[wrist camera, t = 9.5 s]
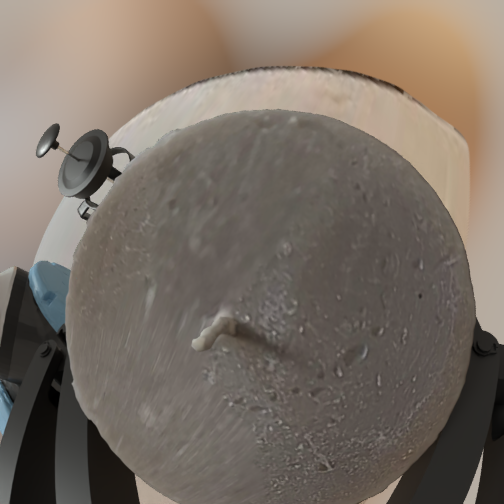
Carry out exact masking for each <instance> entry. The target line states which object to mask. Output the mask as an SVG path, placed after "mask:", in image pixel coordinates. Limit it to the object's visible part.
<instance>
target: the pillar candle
mask: <svg viewBox="0 0 504 504" xmlns="http://www.w3.org/2000/svg"><path fill="white" fill-rule="evenodd" d="M86 223H87V229H86V231H85V233H84V235H83V237H82V239H81V240H80V242H79V243H78V245H77V248H76V250H75V252H74V255H73V264H72V268H71V272H70V278H69V291H68V294H67V296H66V308H65V317H66V318H65V326H66V341H67V349H68V353H69V358H70V368H71V371H72V375H73V379H74V380H73V383H71V384H72V385H73V388H74V390H75V395H76V398H77V400H78V402H79V404H80V407H81V409H82V410H83V412H84V413H85V415H86V416H87V418H88V419H89V420H92V421H93V423H94V424H95V425H96V427H97V428H98V430H99V432H100V435H101V437H102V438H103V439H104V440H105V441H106V442H107V443H108V445H109V447H110V449H111V450H112V451H113V452H114V453H115V454H116V455H117V456H118V457H119V458H120V459H121V460H122V462H123V463H124V464H125V465H126V466H127V467H128V468H129V469H130V470H131V471H132V472H133V473H135V474H136V475H137V476H138V477H140V478H141V479H142V480H143V481H144V482H145V483H146V484H148V485H149V486H150V487H152V488H153V489H155V490H156V491H158V492H159V493H161V494H162V495H164V496H166V497H168V498H169V499H171V500H173V501H175V502H177V503H179V504H358V503H360V502H362V501H364V500H366V499H368V498H370V497H373V496H375V495H377V494H379V493H381V492H383V491H384V490H385V489H386V488H387V487H388V485H389V484H391V483H392V482H394V481H395V480H396V479H398V478H399V477H400V476H402V475H403V474H404V473H405V472H406V471H407V470H408V469H409V468H410V467H411V465H412V464H413V463H414V462H416V461H417V460H418V459H419V457H420V456H421V455H422V454H423V453H424V452H425V451H426V450H427V449H428V448H429V447H430V446H431V445H432V444H433V443H434V441H435V440H436V439H437V437H438V434H439V433H440V431H442V429H443V428H444V426H445V425H446V423H447V421H448V419H449V416H450V414H451V413H452V411H453V408H454V406H455V404H456V402H457V400H458V398H459V397H460V393H461V390H462V388H463V386H464V384H465V381H466V374H467V371H468V367H469V363H470V357H471V348H472V344H473V337H474V328H475V324H476V308H475V307H476V306H475V299H474V292H473V286H472V283H471V278H470V269H469V263H468V259H467V255H466V250H465V248H464V244H463V241H462V239H461V236H460V234H459V232H458V229H457V227H456V225H455V223H454V222H453V220H452V218H451V216H450V214H449V212H448V210H447V209H446V208H445V206H444V205H443V203H442V201H441V200H440V198H439V197H438V195H437V193H436V192H435V191H434V189H433V188H432V187H431V186H430V185H429V183H428V182H427V181H426V180H425V179H424V178H423V177H422V176H421V175H420V173H419V172H418V171H417V170H416V169H415V168H414V167H413V166H412V165H411V164H410V162H409V161H407V160H406V159H404V158H403V157H402V156H401V155H399V154H398V153H397V152H396V151H395V150H393V149H391V148H390V147H389V146H387V145H386V144H384V143H383V142H381V141H380V140H378V139H376V138H375V137H373V136H371V135H369V134H367V133H365V132H364V131H362V130H359V129H357V128H355V127H353V126H350V125H348V124H346V123H344V122H342V121H340V120H336V119H334V118H330V117H327V116H324V115H319V114H312V113H305V112H297V111H288V110H281V109H276V110H268V109H266V110H253V111H240V112H233V113H229V114H223V115H220V116H217V117H214V118H212V119H209V120H205V121H201V122H199V123H197V124H195V125H191V126H188V127H186V128H183V129H176V130H174V131H170V132H169V133H167V134H165V135H164V136H163V137H162V138H161V139H159V140H158V141H157V143H156V144H155V145H154V146H153V147H150V148H147V149H146V150H144V151H143V152H141V153H139V154H138V155H137V156H136V157H135V158H134V159H133V160H131V161H130V162H129V164H127V166H126V167H125V169H124V171H123V173H122V174H121V175H120V176H118V177H117V178H115V181H114V184H113V186H112V188H111V189H110V190H109V192H108V194H107V195H106V197H105V198H104V200H103V201H102V202H101V203H100V205H99V206H98V207H97V208H96V210H95V211H94V212H93V213H92V214H91V216H90V218H89V219H88V220H87V222H86Z"/></svg>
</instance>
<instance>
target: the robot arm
mask: <svg viewBox="0 0 504 504" xmlns="http://www.w3.org/2000/svg"><path fill="white" fill-rule="evenodd" d="M70 272H71V270H69V269H67V268H65V267H63V266H61V265H59V264H57V263H50V262H48V261H39V262H37V263H36V264H35V265H34V266H33V267H32V268H31V269H30V271H29V272H27V271H24V270H22V269H20V268H18V267H16V266H13V267H11V268H9V269H7V270H5V271H3V272H0V431H1V433H2V435H3V437H2V441H1V444H0V504H140V502H139V497H138V492H137V486H136V480H135V474H134V473H133V472H132V471H131V470H130V469H129V468H128V467H127V466H126V465H125V464H124V463H123V462H122V460H121V459H120V458H119V457H118V456H117V455H116V454H115V453H114V452H113V451H112V450H111V449H110V447H109V445H108V443H107V442H106V441H105V440H104V439H103V438H102V437H101V435H100V432H99V430H98V428H97V427H96V425H95V424H94V423H93V421H92V420H89V419H88V418H87V416H86V415H85V413H84V412H83V410H82V409H81V407H80V404H79V402H78V400H77V398H76V395H75V390H74V388H73V385H72V384H71V383H73V380H74V379H73V375H72V371H71V368H70V358H69V353H68V349H67V341H66V326H65V318H66V317H65V308H66V296H67V294H68V291H69V278H70ZM1 379H3V380H1ZM483 448H484V452H483ZM482 452H483V461H482V469H481V476H480V482H479V488H478V493H477V498H476V502H475V504H504V345H502V344H499V343H498V341H497V339H496V338H495V337H494V336H493V335H492V334H490V333H488V332H486V331H483V330H482V329H481V326H480V324H479V322H478V320H477V318H476V324H475V328H474V337H473V344H472V348H471V357H470V363H469V367H468V371H467V374H466V381H465V384H464V386H463V388H462V390H461V393H460V397H459V398H458V400H457V402H456V404H455V406H454V408H453V411H452V413H451V414H450V416H449V419H448V421H447V423H446V425H445V426H444V428H443V429H442V431H440V433H439V434H438V437H437V439H436V440H435V441H434V443H433V444H432V445H431V446H430V447H429V448H428V449H427V450H426V451H425V452H424V453H423V454H422V455H421V456H420V457H419V459H418V460H417V461H416V462H414V463H413V464H412V465H411V467H410V468H409V469H408V470H407V471H406V472H405V473H404V474H403V475H402V477H401V479H400V481H399V483H398V485H397V486H396V488H395V490H394V492H393V493H392V495H391V497H390V499H389V500H388V502H387V503H386V504H463V502H464V500H465V498H466V496H467V493H468V491H469V489H470V486H471V484H472V481H473V478H474V476H475V473H476V470H477V467H478V464H479V461H480V458H481V455H482Z"/></svg>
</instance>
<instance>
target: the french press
mask: <svg viewBox="0 0 504 504" xmlns="http://www.w3.org/2000/svg"><path fill="white" fill-rule="evenodd" d="M59 130H60V126H59V124H53V125H52V126H51V127H49V128H48V129H47V130H46V132H45V133H44V134H43V136H42V137H41V139H40V141H39V144H38V146H37V150H36V156H37V157H38V158H41V157H43V156H44V155H45V154H46V153H47V152H48V151H49V150H50V148H52V149H54V150H56V149H59V150H61V151H62V152H64V153H65V154H67V155H66V156H65V158H64V161H63V163H62V165H61V168H60V171H59V177H58V187H59V191H60V192H61V194H63V195H64V196H66V197H76V198H79V199H84V201H83V202H82V204H81V205H80V206H79V208H78V213H79V215H80V217H81V218H82V219H84V220H88V219H89V218H90V216H91V215H90V214H88V213H86V212H87V210H88V209H89V208H91V209H93V210H96V208H97V207H98V206H99V205H97V204H95V203H93V202H91V201H90V196H91V195H92V194H94V193H95V192H96V191H97V190H98V189H99V188H100V187H101V186H102V184H103V183H104V182H105V180H106V179H107V180H108V181H110V182H111V183H113V184H114V181H115V178H117V177H118V176H120V175H121V174H122V173H121V172H120V171H118V170H117V169H116V168H114V167H113V166H112V165H113V157H112V156H113V155H115V154H117V153H127V154H128V155H129V159H130V161H131V160H133V159H134V158H135V157H134V156H133V155H132V154H131V153H129V152H128V151H127V150H126V149H124V148H121V147H115V148H112V149H110V148H109V141H108V136H107V135H106V133H105V132H103V131H102V130H99V129H97V130H92V131H89V132H88V133H86V134H84V135H83V136H82V137H80V138H79V139H78V140H77V141H76V142H75V143H74V145H73V146H72V147H71V149H70V150H69V151H66V150H65V149H63V148H62V147H60V146H59V143H58V142H57V141H56V138H57V136H58V133H59Z"/></svg>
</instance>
